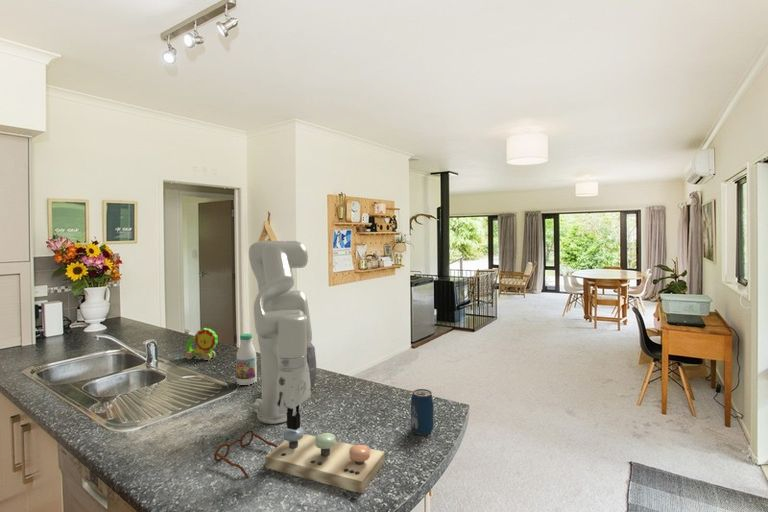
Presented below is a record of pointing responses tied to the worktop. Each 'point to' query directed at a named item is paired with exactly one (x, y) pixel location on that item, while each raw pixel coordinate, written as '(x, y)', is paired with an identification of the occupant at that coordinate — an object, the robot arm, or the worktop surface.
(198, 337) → the toy lion
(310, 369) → the small grey backpack
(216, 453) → the glasses
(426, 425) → the soda can
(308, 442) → the wooden button board
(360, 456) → the terracotta key
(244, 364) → the milk bottle
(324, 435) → the sage key
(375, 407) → the worktop surface
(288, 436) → the slate-blue key
